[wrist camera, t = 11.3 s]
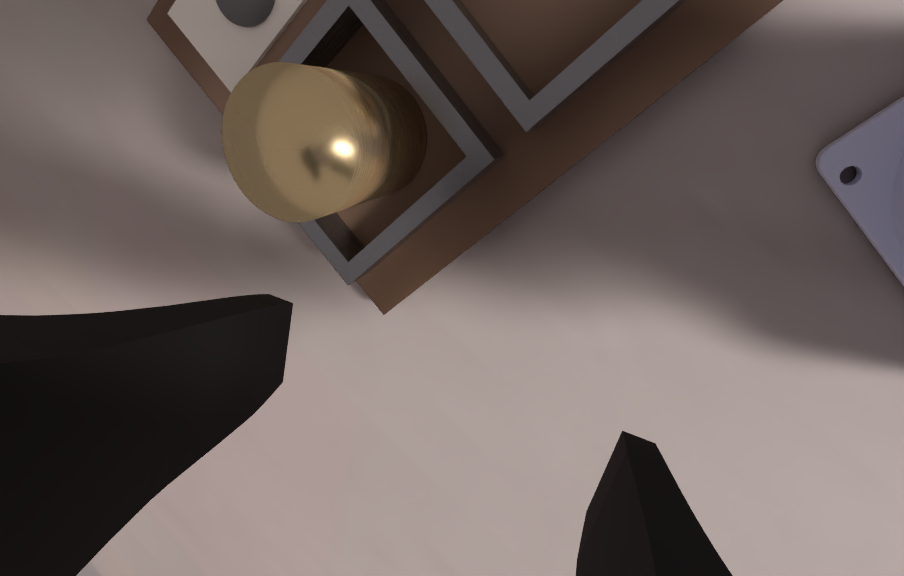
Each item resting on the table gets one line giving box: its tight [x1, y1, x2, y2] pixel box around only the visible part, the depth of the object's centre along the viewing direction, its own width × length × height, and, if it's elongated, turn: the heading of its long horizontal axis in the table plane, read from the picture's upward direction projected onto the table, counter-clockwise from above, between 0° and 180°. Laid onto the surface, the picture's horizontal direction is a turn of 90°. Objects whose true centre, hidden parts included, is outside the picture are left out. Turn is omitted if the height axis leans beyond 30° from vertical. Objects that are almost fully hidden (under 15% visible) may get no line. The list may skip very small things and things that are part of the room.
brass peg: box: [222, 62, 427, 222], centre depth 16 cm, size 4×4×5 cm
